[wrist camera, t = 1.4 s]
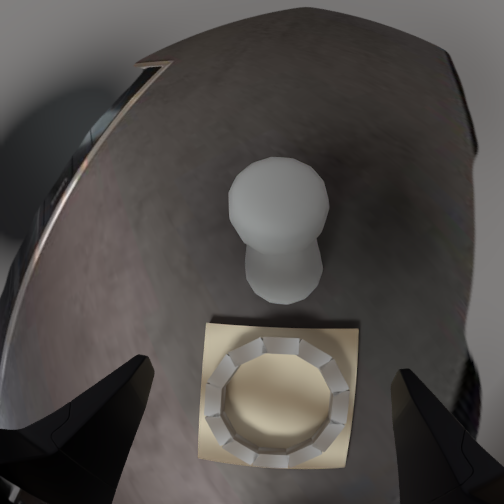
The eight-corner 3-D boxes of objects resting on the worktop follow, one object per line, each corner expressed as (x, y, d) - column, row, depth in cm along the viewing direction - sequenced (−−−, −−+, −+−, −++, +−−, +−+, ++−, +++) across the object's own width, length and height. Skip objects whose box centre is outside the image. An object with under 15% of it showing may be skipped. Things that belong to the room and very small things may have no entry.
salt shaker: (304, 232, 24) (315, 122, 11) (329, 294, 22) (377, 228, 9) (240, 254, 24) (193, 159, 11) (260, 318, 22) (225, 281, 9)
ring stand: (342, 463, 16) (348, 474, 14) (200, 454, 18) (192, 464, 16) (356, 329, 20) (363, 327, 18) (208, 323, 22) (200, 321, 20)
